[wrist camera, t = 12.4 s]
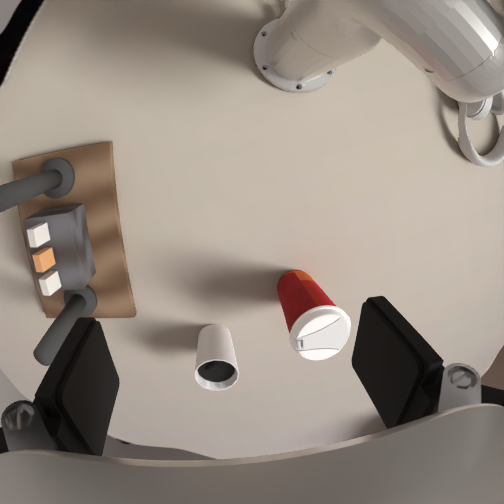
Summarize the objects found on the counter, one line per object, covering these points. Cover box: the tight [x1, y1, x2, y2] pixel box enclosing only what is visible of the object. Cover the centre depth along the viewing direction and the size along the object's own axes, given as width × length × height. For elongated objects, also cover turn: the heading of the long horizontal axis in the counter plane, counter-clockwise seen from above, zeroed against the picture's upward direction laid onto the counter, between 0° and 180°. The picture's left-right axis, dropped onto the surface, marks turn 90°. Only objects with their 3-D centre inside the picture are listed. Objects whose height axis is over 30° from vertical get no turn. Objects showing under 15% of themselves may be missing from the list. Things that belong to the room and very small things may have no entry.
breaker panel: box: [13, 142, 136, 318], centre depth 40 cm, size 28×18×8 cm, turn 1°
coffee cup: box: [278, 270, 351, 360], centre depth 44 cm, size 8×8×15 cm
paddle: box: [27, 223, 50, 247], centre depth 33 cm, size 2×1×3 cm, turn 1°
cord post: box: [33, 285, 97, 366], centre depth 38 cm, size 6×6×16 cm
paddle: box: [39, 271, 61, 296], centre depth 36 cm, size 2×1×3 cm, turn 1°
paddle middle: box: [32, 247, 56, 272], centre depth 35 cm, size 2×1×3 cm, turn 1°
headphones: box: [457, 90, 504, 167], centre depth 41 cm, size 18×8×20 cm
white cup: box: [195, 324, 239, 390], centre depth 48 cm, size 7×7×10 cm
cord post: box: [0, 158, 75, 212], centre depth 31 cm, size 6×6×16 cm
